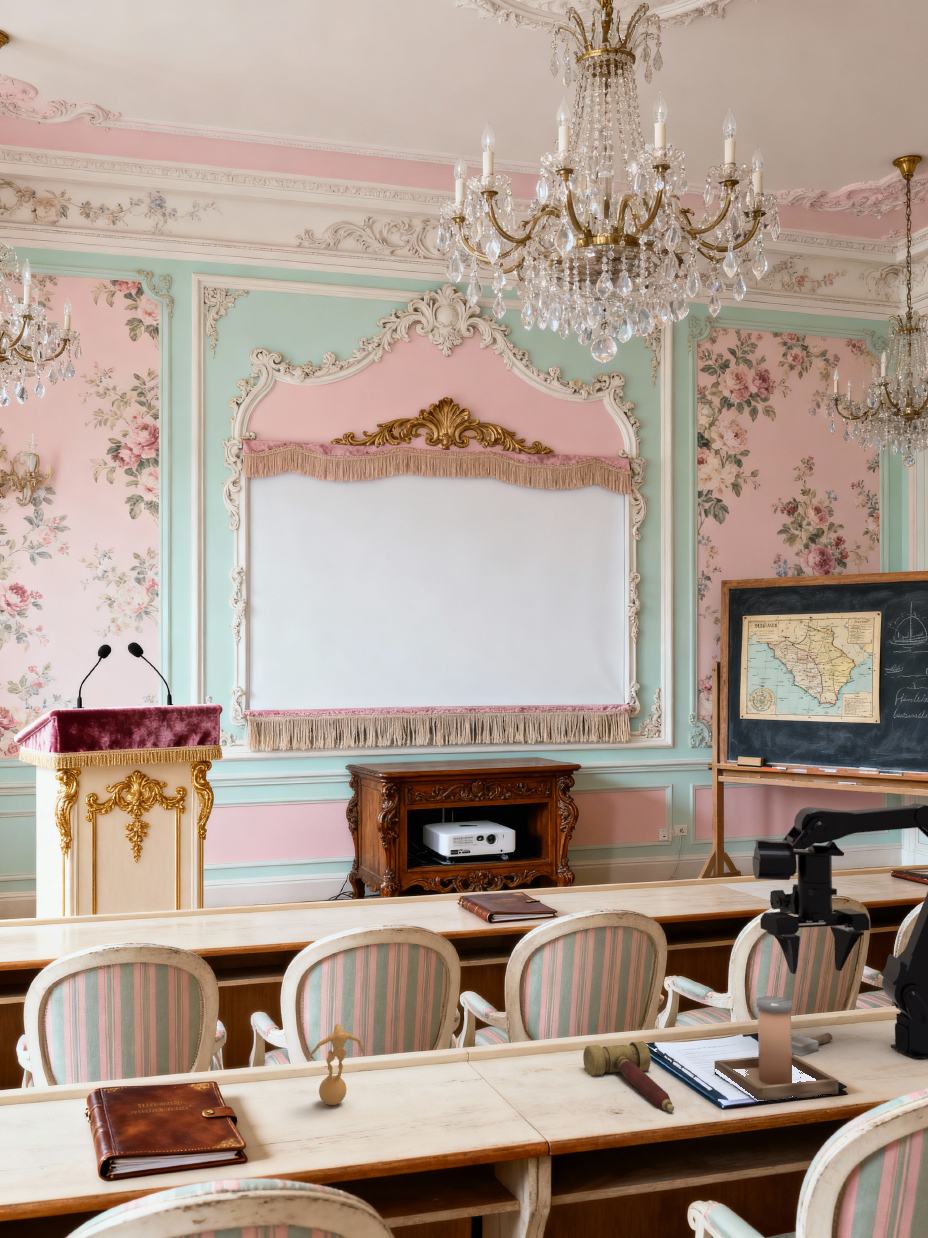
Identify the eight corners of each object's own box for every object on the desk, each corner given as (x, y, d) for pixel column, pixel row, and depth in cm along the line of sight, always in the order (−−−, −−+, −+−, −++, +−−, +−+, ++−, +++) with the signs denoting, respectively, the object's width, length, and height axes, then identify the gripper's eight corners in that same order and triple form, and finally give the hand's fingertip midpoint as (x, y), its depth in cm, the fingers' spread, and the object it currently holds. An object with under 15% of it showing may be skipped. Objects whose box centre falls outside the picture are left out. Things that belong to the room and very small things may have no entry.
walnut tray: (790, 1066, 172) (790, 1053, 172) (838, 1094, 160) (838, 1080, 160) (714, 1073, 168) (714, 1061, 168) (758, 1102, 156) (758, 1088, 156)
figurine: (355, 1096, 156) (357, 1013, 157) (367, 1110, 151) (369, 1025, 152) (301, 1103, 153) (303, 1019, 154) (311, 1118, 147) (313, 1031, 148)
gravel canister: (767, 1071, 168) (766, 994, 169) (799, 1079, 164) (798, 1001, 165) (751, 1079, 164) (750, 1001, 165) (783, 1088, 160) (782, 1008, 161)
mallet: (819, 1038, 187) (819, 1029, 187) (838, 1044, 184) (838, 1035, 184) (780, 1049, 180) (780, 1040, 180) (800, 1056, 177) (800, 1046, 177)
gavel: (703, 1091, 152) (641, 1097, 150) (702, 1122, 152) (640, 1129, 150) (639, 1037, 173) (583, 1041, 170) (638, 1065, 172) (582, 1070, 170)
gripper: (831, 872, 194) (832, 958, 192) (742, 875, 188) (743, 964, 187) (871, 882, 183) (872, 973, 182) (778, 885, 178) (779, 980, 176)
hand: (815, 972), depth 182 cm, fingers open, 9 cm apart
